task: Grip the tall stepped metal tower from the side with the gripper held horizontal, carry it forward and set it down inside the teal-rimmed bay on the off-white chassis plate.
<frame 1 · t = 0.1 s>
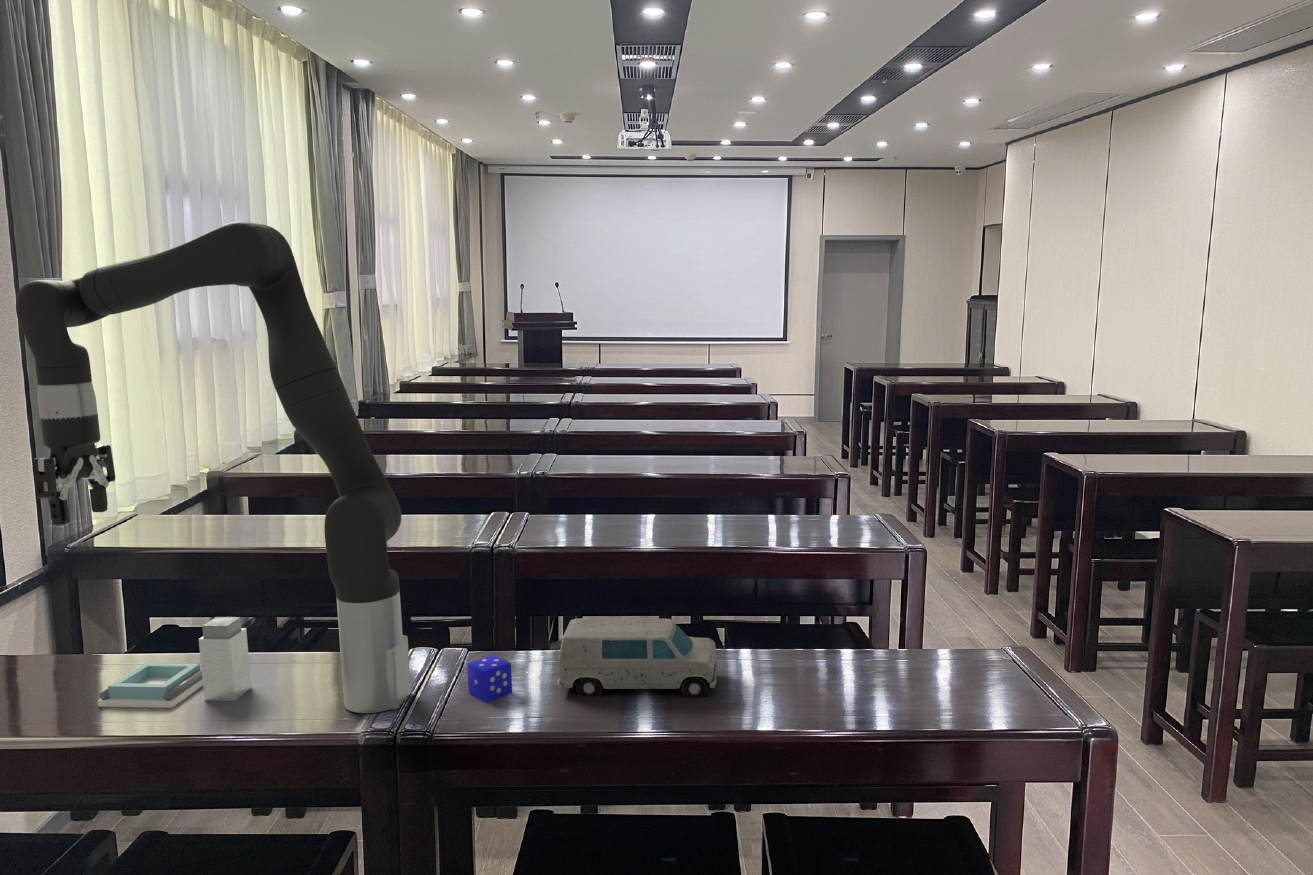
hand: (81, 517, 145), 29 cm above the table, tool pointing down, fingers open, 8 cm apart
die: (490, 694, 148), on the table
chassis: (156, 692, 151), on the table
stepped metal tower: (228, 693, 150), on the table
toy car: (639, 686, 150), on the table
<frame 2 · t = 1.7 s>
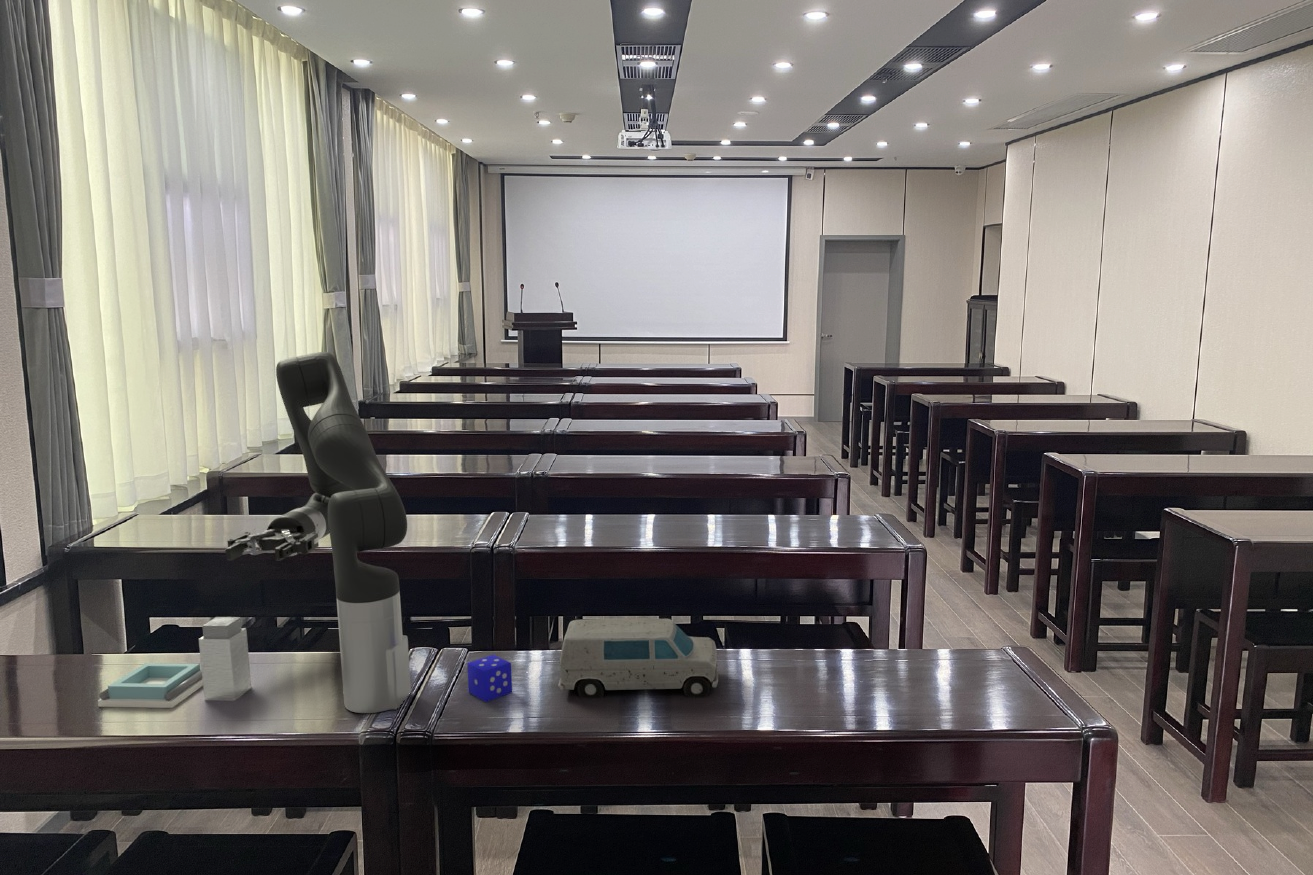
hand: (252, 554, 158), 20 cm above the table, tool horizontal, fingers open, 8 cm apart
nothing on the table moved.
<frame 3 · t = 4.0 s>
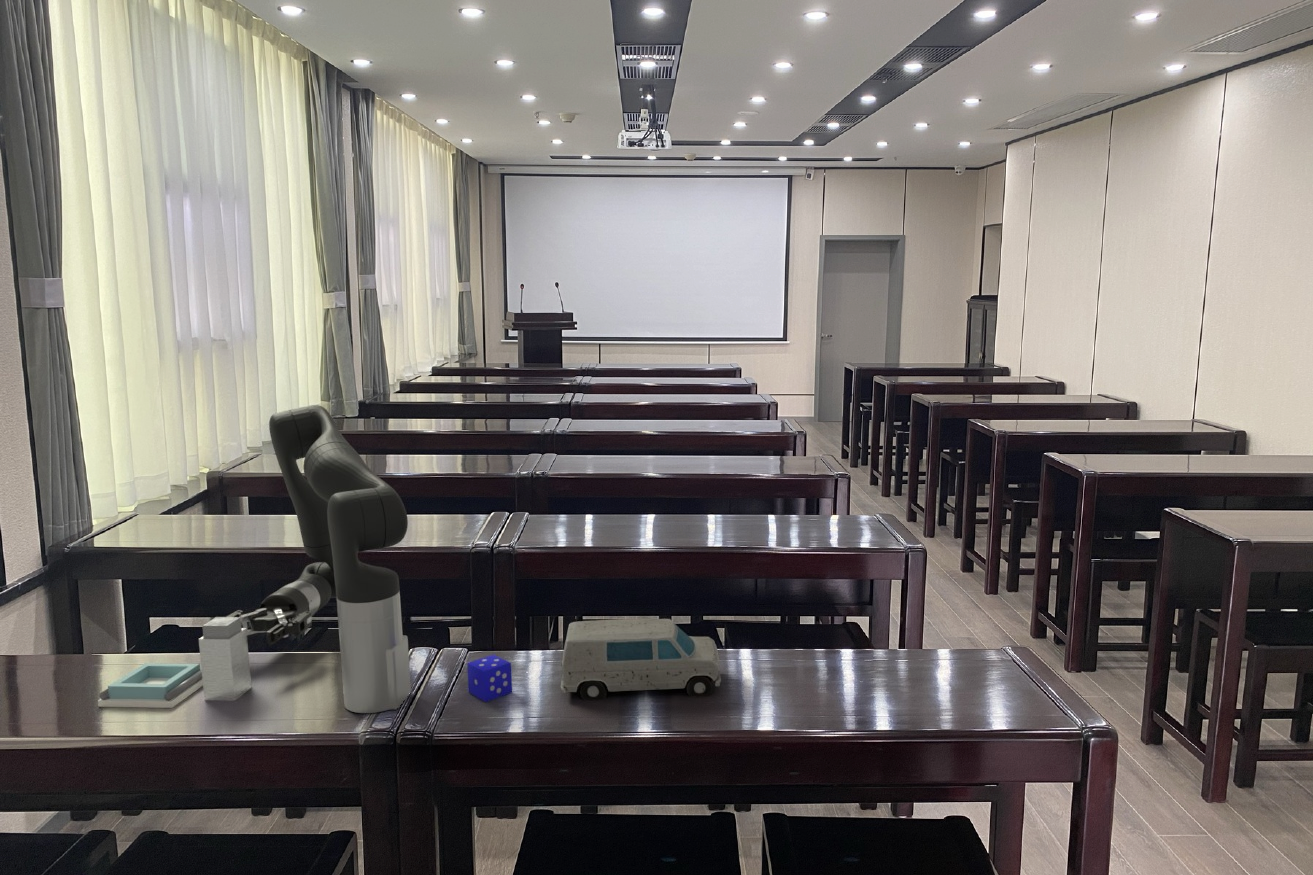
hand: (243, 638, 154), 7 cm above the table, tool horizontal, fingers open, 8 cm apart
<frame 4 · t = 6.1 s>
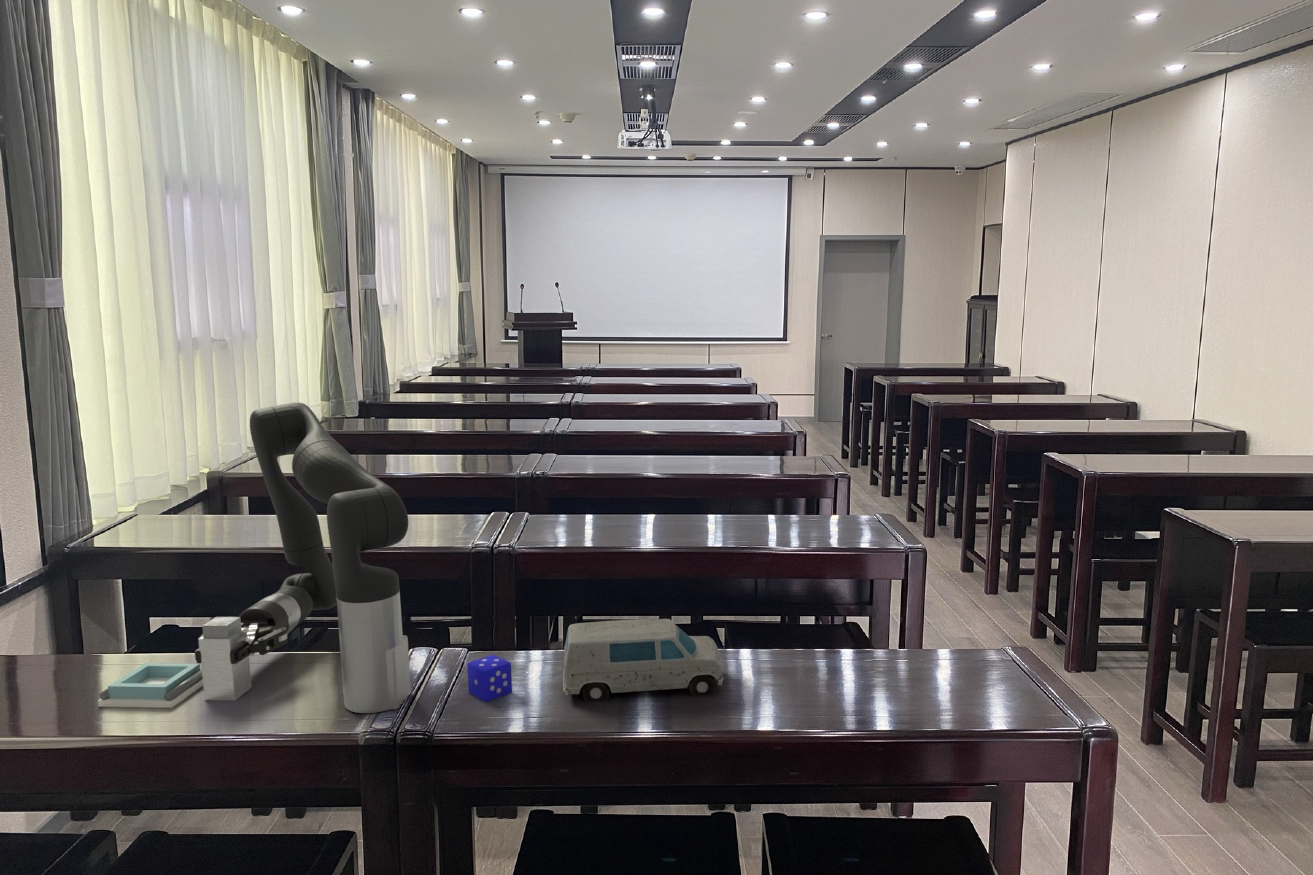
hand: (215, 657, 146), 7 cm above the table, tool horizontal, fingers closed on stepped metal tower, 5 cm apart
stepped metal tower: (228, 693, 150), on the table, touching gripper
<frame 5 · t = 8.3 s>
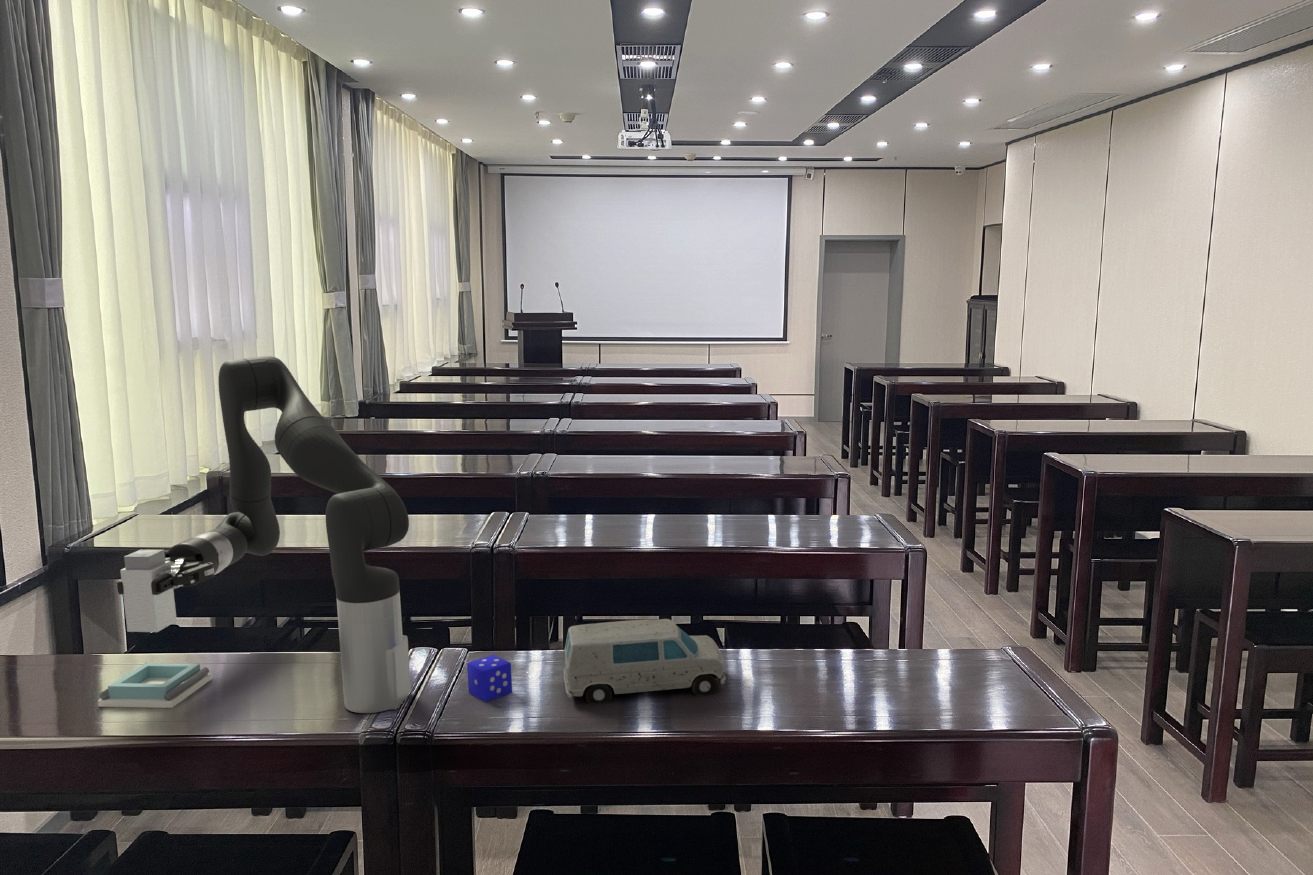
hand: (137, 588, 146), 18 cm above the table, tool horizontal, fingers closed on stepped metal tower, 5 cm apart
stepped metal tower: (152, 626, 149), point 11 cm above the table, touching gripper
when the fingers open (9 cm above the table, at t = 10.4 s): stepped metal tower drops 1 cm, resting on chassis.
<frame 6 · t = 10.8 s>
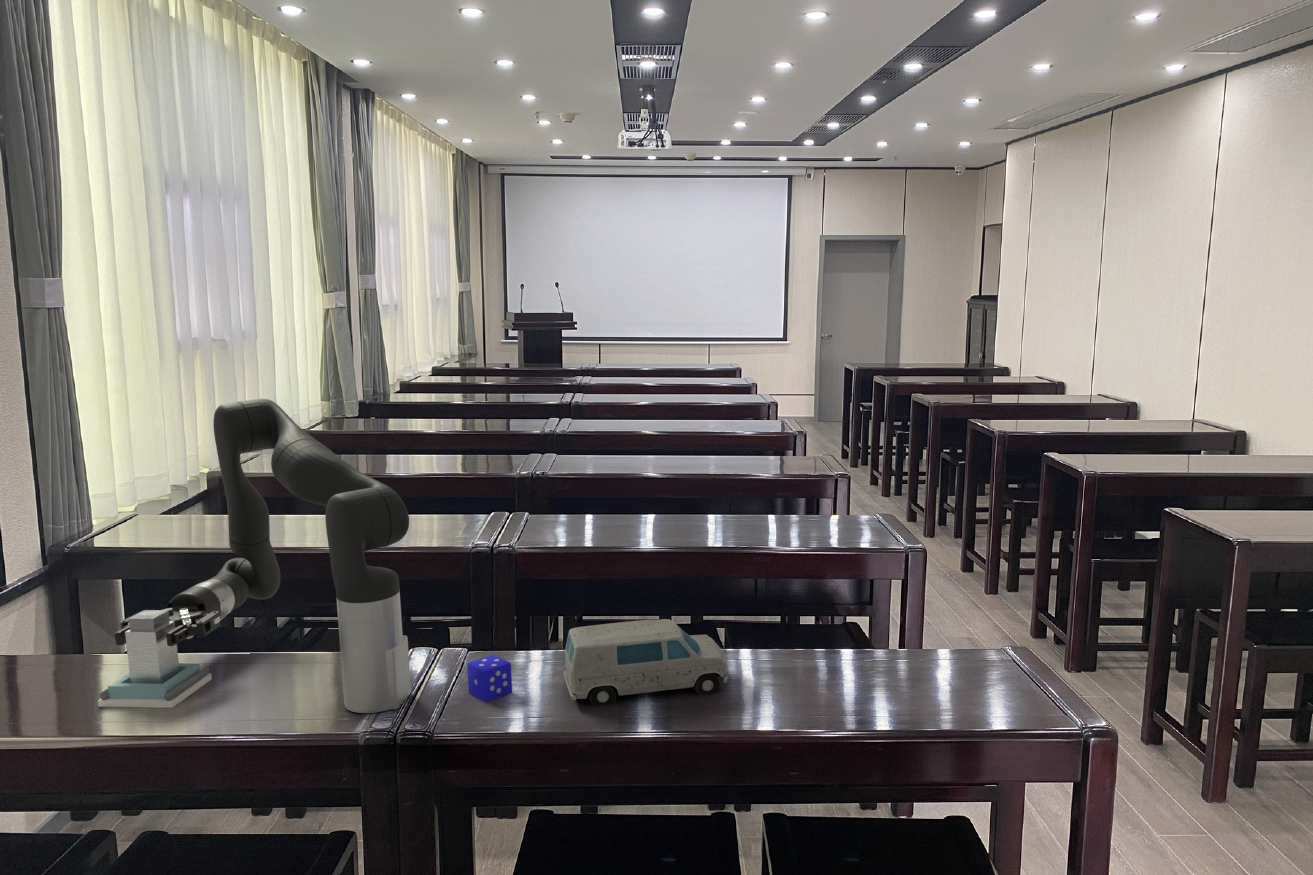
hand: (143, 639, 147), 10 cm above the table, tool horizontal, fingers open, 8 cm apart
stepped metal tower: (156, 686, 151), point 1 cm above the table, touching chassis
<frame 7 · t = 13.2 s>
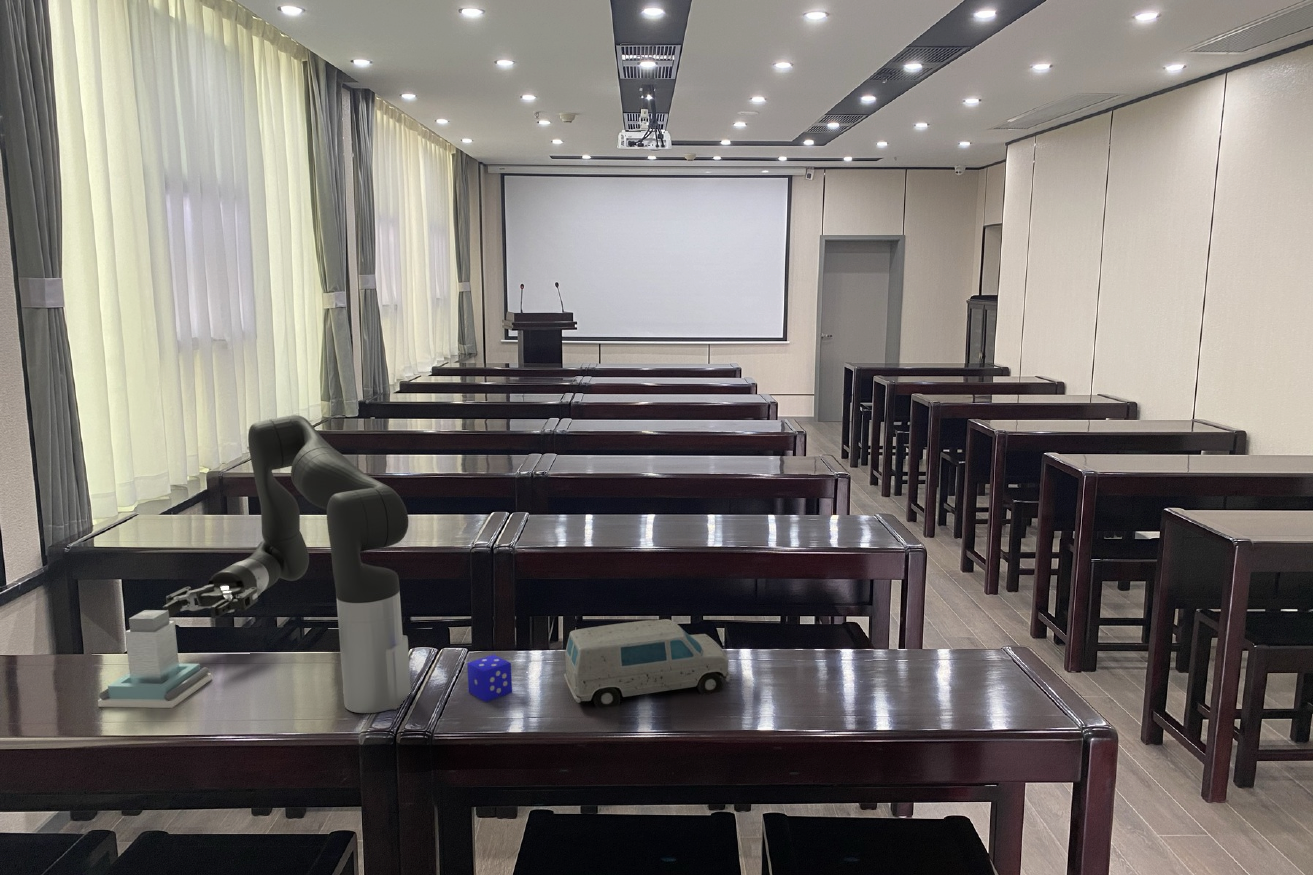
hand: (189, 612, 160), 10 cm above the table, tool horizontal, fingers open, 8 cm apart
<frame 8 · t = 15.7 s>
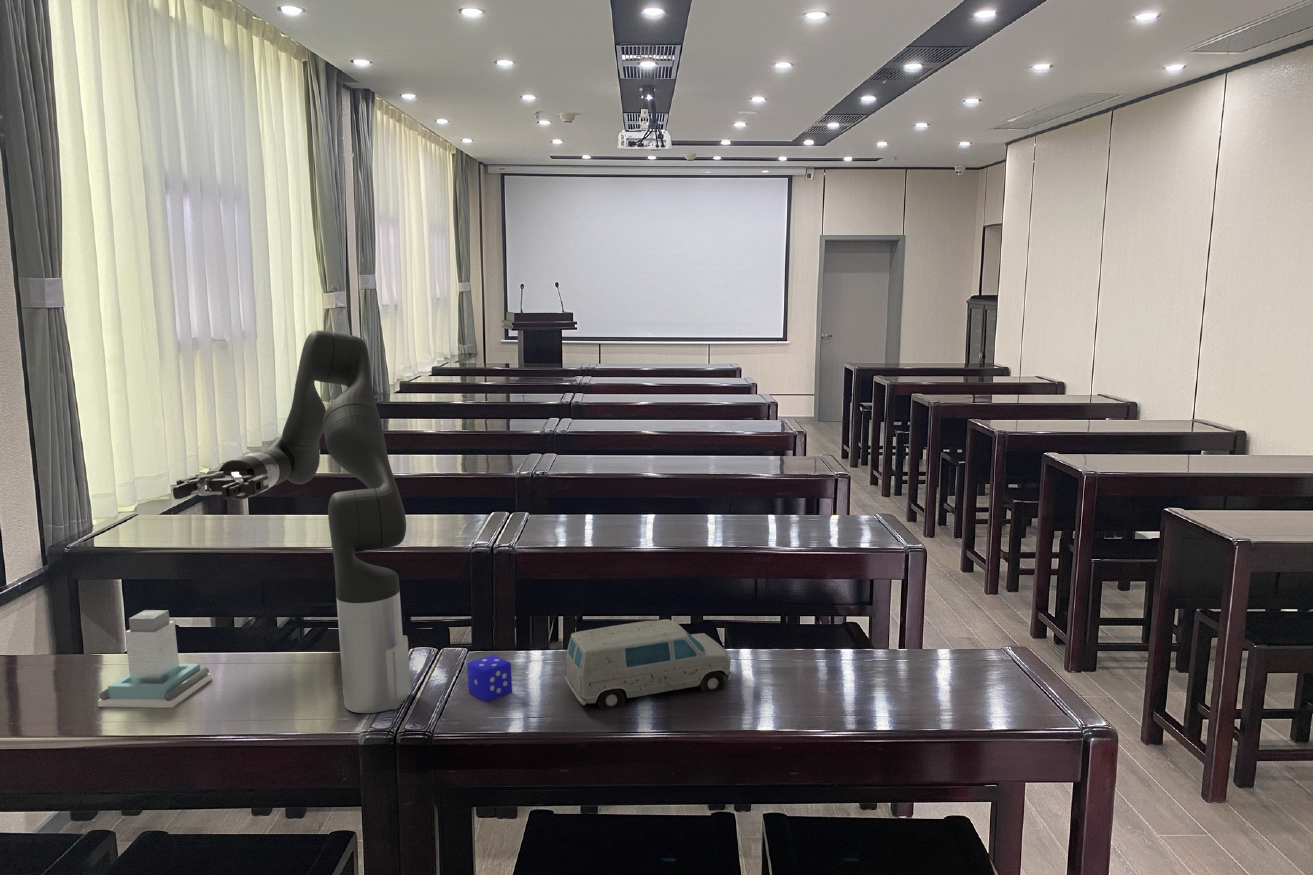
hand: (199, 493, 158), 30 cm above the table, tool horizontal, fingers open, 8 cm apart
at the end: stepped metal tower 0.0 cm off-centre on the chassis, point 1.0 cm above the chassis's base; stepped metal tower tilted 0°; the gripper is holding nothing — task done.
